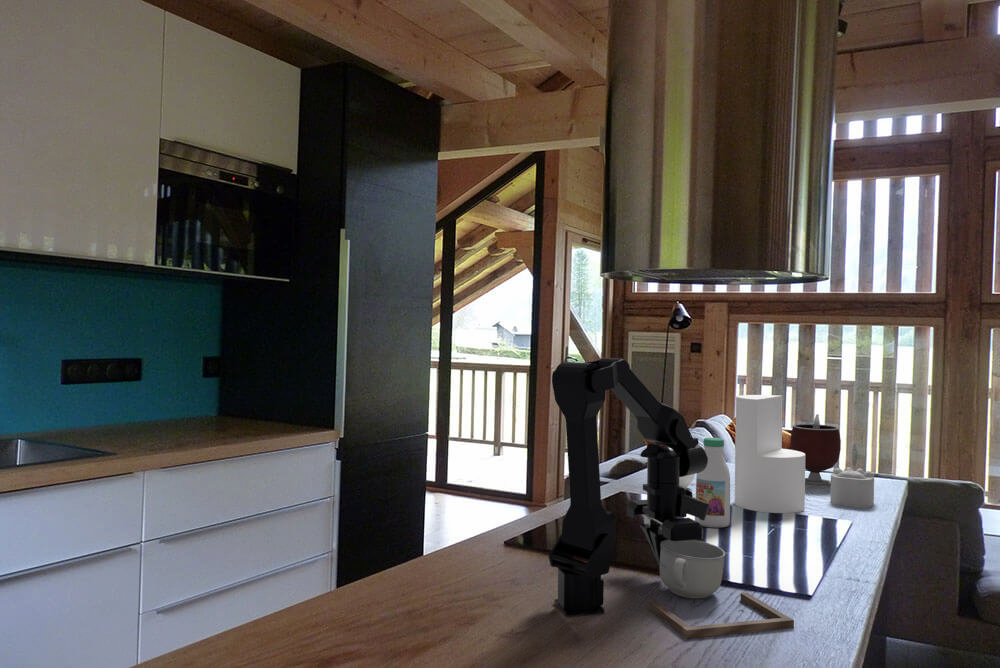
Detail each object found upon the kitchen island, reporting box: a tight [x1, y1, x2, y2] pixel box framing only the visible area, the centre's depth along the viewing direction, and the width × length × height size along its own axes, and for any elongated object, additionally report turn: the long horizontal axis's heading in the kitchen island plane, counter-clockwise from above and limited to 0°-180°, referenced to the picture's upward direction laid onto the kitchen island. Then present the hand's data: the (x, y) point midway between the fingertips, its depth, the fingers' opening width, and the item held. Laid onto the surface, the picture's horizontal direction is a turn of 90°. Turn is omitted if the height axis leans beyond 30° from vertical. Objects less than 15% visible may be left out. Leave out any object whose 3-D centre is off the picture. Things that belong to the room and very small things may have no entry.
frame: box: [647, 592, 795, 639], centre depth 122 cm, size 18×13×1 cm
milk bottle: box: [695, 437, 731, 529], centre depth 182 cm, size 8×8×20 cm
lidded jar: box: [679, 474, 695, 490], centre depth 225 cm, size 11×11×9 cm
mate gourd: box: [789, 414, 842, 489], centre depth 233 cm, size 16×14×20 cm
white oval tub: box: [829, 466, 875, 509], centre depth 209 cm, size 10×13×9 cm
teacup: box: [659, 539, 726, 600], centre depth 132 cm, size 14×11×8 cm
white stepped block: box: [733, 394, 806, 514], centre depth 203 cm, size 17×17×28 cm
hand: (662, 566), depth 142 cm, fingers closed
